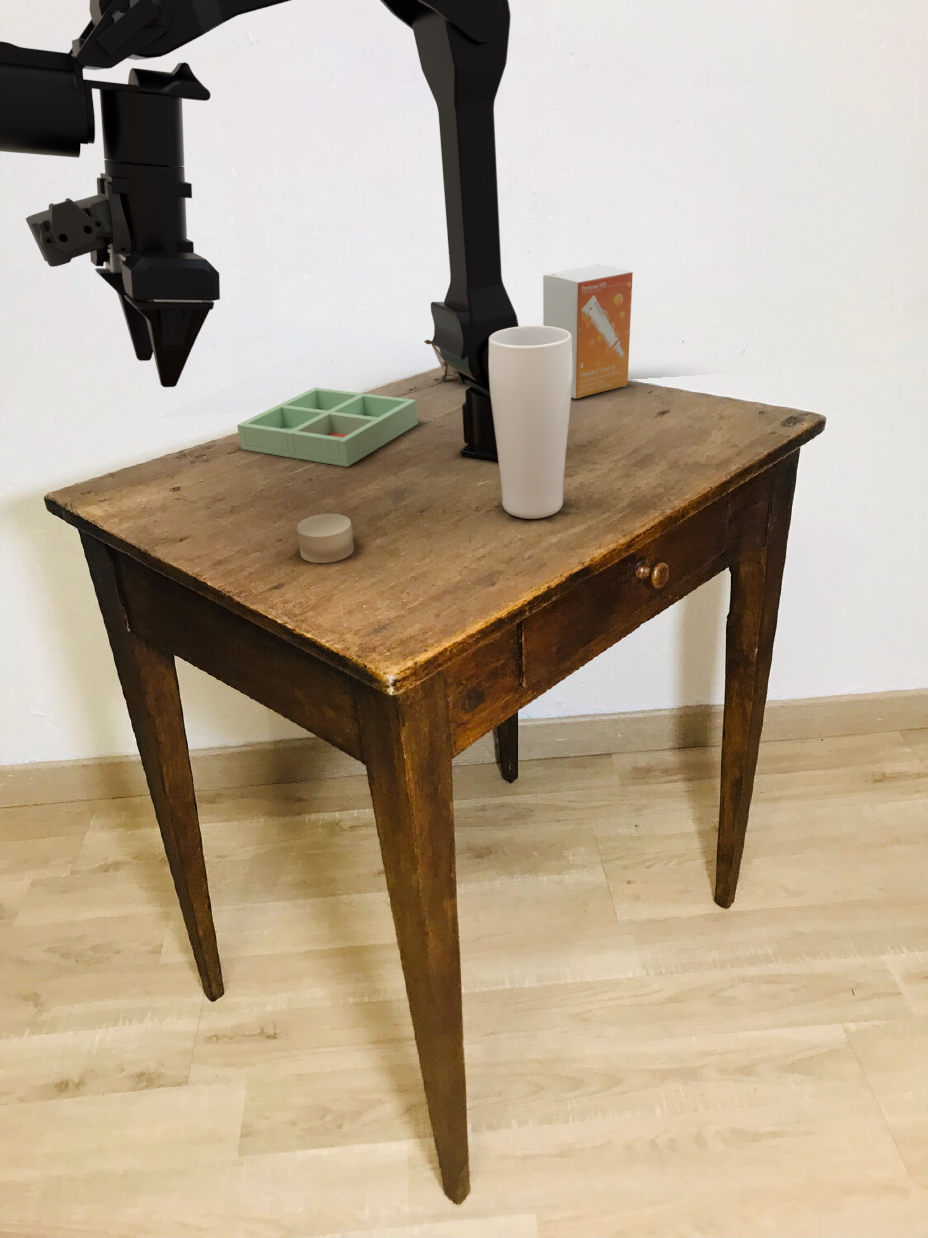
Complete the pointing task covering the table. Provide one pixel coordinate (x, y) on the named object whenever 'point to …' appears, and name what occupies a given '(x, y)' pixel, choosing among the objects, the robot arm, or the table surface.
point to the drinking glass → (531, 415)
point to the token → (325, 538)
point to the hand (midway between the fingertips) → (155, 372)
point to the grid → (328, 426)
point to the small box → (592, 323)
